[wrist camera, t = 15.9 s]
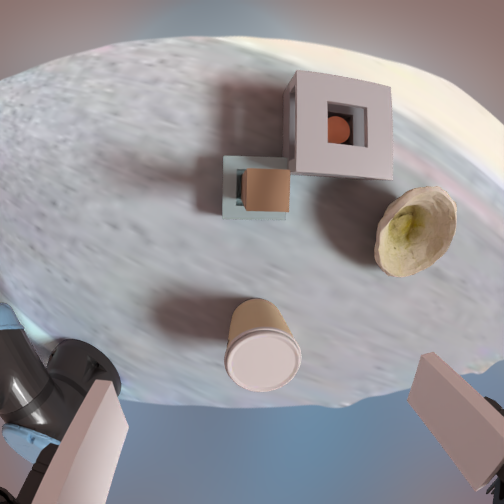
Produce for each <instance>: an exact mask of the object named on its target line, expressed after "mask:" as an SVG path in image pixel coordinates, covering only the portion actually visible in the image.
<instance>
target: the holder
mask: <svg viewBox="0 0 504 504" xmlns="http://www.w3.org/2000/svg"><path fill="white" fill-rule="evenodd" d="M247 168H259V169H284V170H287V158H284V157H261V156H223V202H222V219H240V220H286V212H265V211H246V209H245V207H244V205H243V203H242V201H241V175H242V174H243V173H244V172H245V170H246V169H247Z"/></svg>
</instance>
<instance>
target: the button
mask: <svg viewBox="0 0 504 504" xmlns="http://www.w3.org/2000/svg"><path fill="white" fill-rule="evenodd" d="M349 135H350V128H349V125H348V123H347V122H346V121H345V120H344V119H343V118H341V117H338V116H332V117H330V118H328V143H335V144H340V143H343V142H345V141H346V140H347V139H348V137H349Z"/></svg>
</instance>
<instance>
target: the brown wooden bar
mask: <svg viewBox="0 0 504 504" xmlns="http://www.w3.org/2000/svg"><path fill="white" fill-rule="evenodd" d="M289 195H290V170H284V169H259V168H247V169H246V170H245V172H244V173H243V174H242V175H241V201H242V203H243V205H244V207H245V209H246V211H265V212H289Z"/></svg>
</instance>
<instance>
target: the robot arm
mask: <svg viewBox="0 0 504 504" xmlns="http://www.w3.org/2000/svg"><path fill="white" fill-rule="evenodd" d="M120 391H121V381H120V377H119V374H118V372H117V370H116V368H115V367H114V365H113V364H112V363H111V361H110V360H109V359H108V358H107V357H106V356H105V355H104V354H103V353H102V352H100V351H99V350H98V349H96V348H95V347H93V346H91V345H90V344H87V343H85V342H82V341H78V340H66V341H63V342H61V343H60V344H59V345H58V346H57V347H56V348H55V349H54V350H53V351H52V353H51V355H50V358H49V362H48V365H47V368H45V367H44V365H43V363H42V362H41V360H40V358H39V357H38V355H37V353H36V351H35V350H34V348H33V346H32V344H31V342H30V341H29V339H28V337H27V335H26V333H25V331H24V327H23V326H22V325H21V324H20V322H19V320H18V319H17V317H16V315H15V313H14V311H13V309H12V308H11V307H10V306H9V305H8V304H6V303H0V416H1V418H2V419H3V420H4V422H5V424H4V425H3V426H2V427H3V428H2V435H3V436H4V438H5V441H6V442H7V443H8V444H9V445H10V447H11V448H12V449H14V450H15V451H16V452H17V453H18V454H19V455H21V456H22V457H23V458H25V459H26V460H28V461H29V462H31V463H32V464H34V465H33V467H32V471H30V473H29V474H28V477H27V478H26V481H25V482H24V484H23V487H22V488H21V490H20V493H19V495H18V497H17V498H16V499H15V498H14V497H13V496H12V495H11V494H10V493H9V492H8V491H7V490H6V489H4V488H2V487H0V504H105V503H106V499H107V495H108V492H109V488H110V485H111V482H112V478H113V475H114V472H115V469H116V465H117V462H118V459H119V456H120V452H121V449H122V446H123V443H124V440H125V437H126V434H127V431H128V428H129V426H128V424H127V422H126V419H125V416H124V414H123V411H122V408H121V406H120V403H119V400H118V396H119V394H120ZM407 401H408V403H409V404H410V405H411V407H412V408H413V409H414V410H415V412H416V413H417V414H418V416H419V417H420V418H421V419H422V421H423V422H424V423H425V424H426V426H427V427H428V429H429V430H430V431H431V433H432V434H433V435H434V436H435V438H436V439H437V440H438V442H439V443H440V444H441V446H442V447H443V448H444V450H445V451H446V452H447V454H448V455H449V456H450V458H451V459H452V460H453V462H454V463H455V465H456V466H457V467H458V469H459V470H460V471H461V472H462V474H463V475H464V477H465V478H466V480H467V481H468V482H469V484H470V485H471V486H472V488H473V489H474V491H477V490H479V489H480V488H482V487H483V486H485V485H486V484H488V483H489V481H490V480H491V479H492V478H493V477H494V476H495V474H496V475H497V476H498V478H497V479H496V480H495V481H494V482H493V484H492V485H491V486H490V487H489V488H488V489H487V492H486V494H488V493H489V492H490V491H491V490H492V489H493V488H494V487H495V489H494V490H493V491H492V493H491V494H494V498H493V504H504V409H502V407H501V406H500V405H499V404H498V403H497V402H496V401H494V400H492V399H490V398H488V397H484V398H483V397H482V396H481V395H480V394H479V393H478V392H477V391H476V390H475V389H474V388H472V386H470V385H469V384H468V383H467V382H466V381H465V380H464V379H463V378H462V377H461V376H460V375H459V374H457V373H456V372H455V371H454V370H453V369H452V368H451V367H450V366H449V365H448V364H446V363H445V362H444V361H443V360H442V359H441V358H440V357H439V356H437V355H436V354H435V353H434V352H431V353H427V354H424V355H421V357H420V361H419V364H418V368H417V371H416V374H415V378H414V381H413V384H412V387H411V390H410V393H409V396H408V399H407Z"/></svg>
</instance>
